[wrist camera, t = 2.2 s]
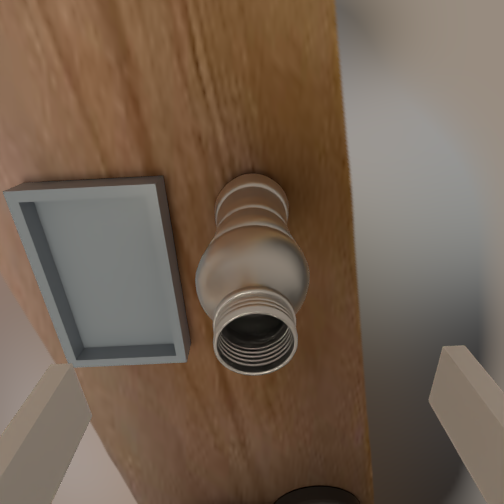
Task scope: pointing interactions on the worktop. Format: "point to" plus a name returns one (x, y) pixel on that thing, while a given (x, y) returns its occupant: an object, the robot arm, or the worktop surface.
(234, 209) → the plastic bottle
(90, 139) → the worktop surface
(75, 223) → the tray
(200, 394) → the worktop surface
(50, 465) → the robot arm
